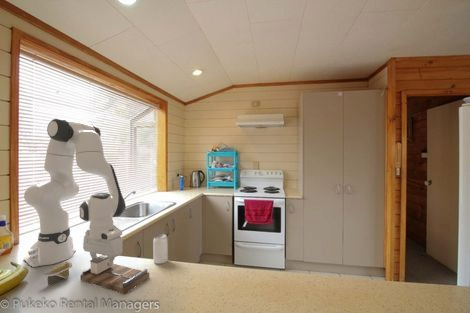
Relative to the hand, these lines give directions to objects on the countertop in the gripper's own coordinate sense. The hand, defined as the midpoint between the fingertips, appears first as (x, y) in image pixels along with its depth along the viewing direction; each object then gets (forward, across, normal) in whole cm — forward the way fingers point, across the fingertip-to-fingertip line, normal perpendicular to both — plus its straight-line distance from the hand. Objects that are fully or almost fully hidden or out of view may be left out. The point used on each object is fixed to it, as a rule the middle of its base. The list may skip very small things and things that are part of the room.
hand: (102, 263), depth 94 cm
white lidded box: (+2, 0, 0) cm, 2 cm away
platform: (+6, -13, -9) cm, 17 cm away
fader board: (+5, +8, 0) cm, 9 cm away
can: (+5, +15, +19) cm, 24 cm away
